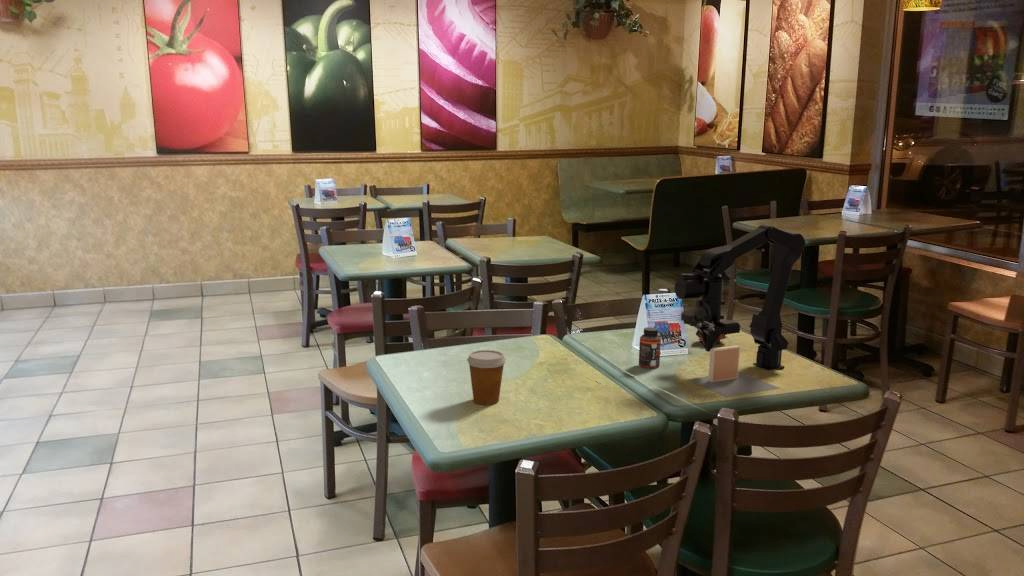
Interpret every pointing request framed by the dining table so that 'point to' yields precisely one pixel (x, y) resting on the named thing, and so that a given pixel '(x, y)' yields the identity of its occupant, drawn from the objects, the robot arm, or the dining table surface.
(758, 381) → the mat
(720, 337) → the dragon fruit
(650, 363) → the supplement bottle
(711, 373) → the tile
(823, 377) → the dining table surface
